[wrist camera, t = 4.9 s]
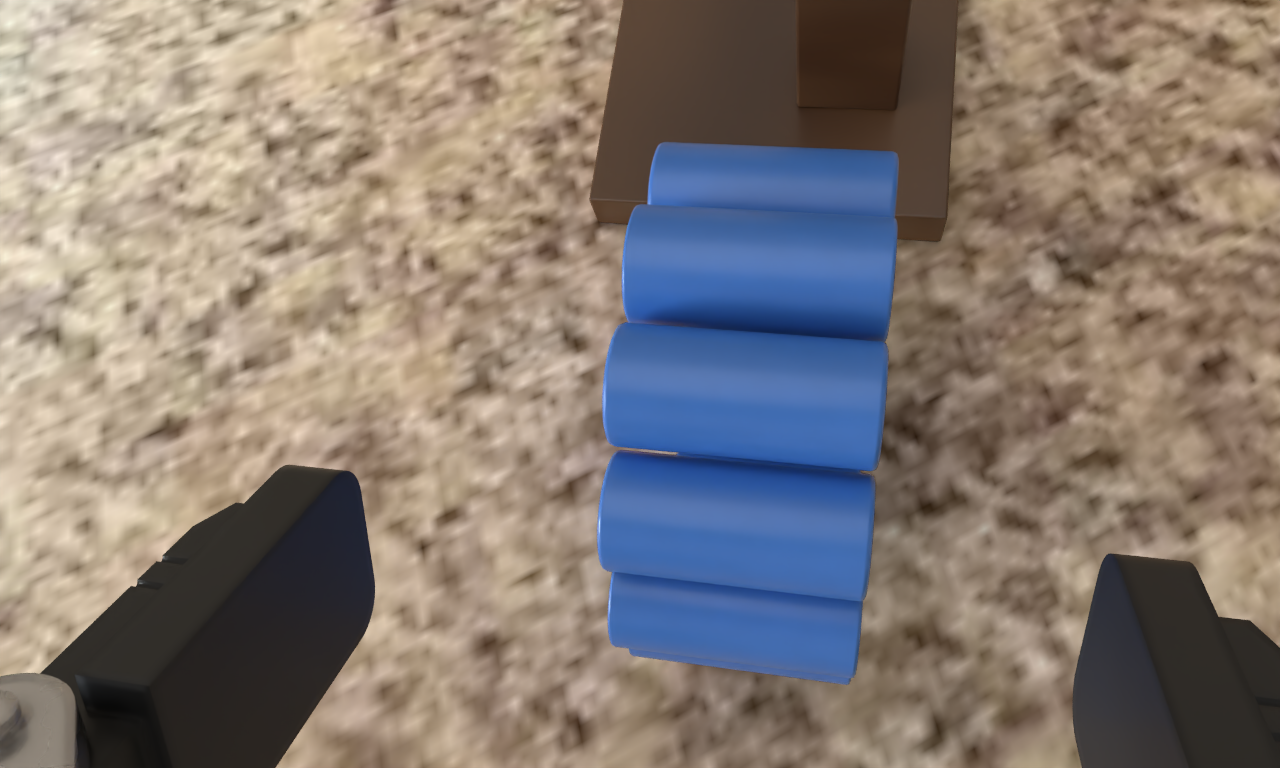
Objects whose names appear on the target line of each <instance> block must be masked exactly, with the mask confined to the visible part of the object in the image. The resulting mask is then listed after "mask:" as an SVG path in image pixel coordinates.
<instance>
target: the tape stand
mask: <svg viewBox="0 0 1280 768" xmlns="http://www.w3.org/2000/svg"><path fill="white" fill-rule="evenodd" d="M958 3H959V0H624V1H623V6H622V12H621V18H620V24H619V30H618V36H617V41H616V47H615V53H614V59H613V65H612V70H611V76H610V82H609V88H608V94H607V100H606V105H605V111H604V117H603V123H602V129H601V134H600V140H599V146H598V152H597V158H596V163H595V169H594V175H593V181H592V187H591V193H590V198H589V199H590V202H591V205H592V207H593V210H594V212H595V215H596V217H597V220H598V222H606V223H624V224H628V222H629V219H630V216H631V214H632V211H633V209H634V208H635V206H637V205H639V204H647V203H648V186H649V177H650V171H651V165H652V161H653V157H654V154H655V151H656V149H657V147H658V145H659V144H661V143H663V142H679V143H704V144H728V145H753V146H777V147H801V148H826V149H850V150H875V151H893V152H895V153H897V155H898V158H899V171H898V187H897V200H896V211H895V218H896V220H897V225H898V232H897V239H909V240H927V241H940V240H941V238H942V234H943V231H944V227H945V223H946V220H947V210H948V191H949V172H950V153H951V134H952V116H953V97H954V78H955V59H956V40H957V21H958Z"/></svg>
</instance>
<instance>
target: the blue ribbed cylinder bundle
mask: <svg viewBox="0 0 1280 768" xmlns="http://www.w3.org/2000/svg"><path fill="white" fill-rule="evenodd" d="M898 171H899V158H898V155H897V153H895V152H893V151H875V150H850V149H826V148H801V147H777V146H753V145H728V144H704V143H679V142H663V143H661V144H659V145H658V147H657V149H656V151H655V154H654V157H653V161H652V165H651V171H650V177H649V186H648V203H647V204H639V205H637V206H635V208H634V209H633V211H632V214H631V216H630V219H629V222H628V226H627V230H626V236H625V242H624V250H623V260H622V298H623V306H624V311H625V315H626V318H627V320H628V321H629V322H630V323H627V322H625V323H622V324H620V325H619V326H618V327H617V328H616V330H615V332H614V334H613V337H612V339H611V342H610V346H609V350H608V354H607V359H606V365H605V372H604V381H603V396H602V411H603V424H604V430H605V434H606V438H607V440H608V442H609V443H610V444H612V445H613V446H617V447H627V448H637V449H648V450H658V451H668V452H678V453H677V455H669V454H659V453H649V452H639V451H629V450H619V451H616V452H615V453H614V454H613V456H612V458H611V460H610V462H609V464H608V467H607V470H606V473H605V476H604V480H603V485H602V490H601V496H600V503H599V511H598V524H597V546H598V554H599V560H600V563H601V566H602V568H603V569H605V570H607V571H610V572H612V576H611V583H610V591H609V601H608V632H609V638H610V641H611V644H612V645H613V646H615V647H621V648H629V651H630V654H631V655H633V656H638V657H645V658H653V659H660V660H667V661H675V662H682V663H690V664H697V665H704V666H712V667H719V668H727V669H734V670H741V671H749V672H756V673H763V674H771V675H778V676H786V677H793V678H800V679H808V680H815V681H823V682H830V683H837V684H845V685H848V684H849V683H850V681H851V678H854V676H855V674H856V670H857V663H858V654H859V645H860V634H861V622H862V608H863V600H864V599H865V597H866V594H867V589H868V582H869V574H870V564H871V554H872V543H873V530H874V515H875V491H876V485H875V479H874V476H872V475H870V474H864V473H861V471H860V470H864V471H873V470H876V468H877V466H878V464H879V460H880V454H881V446H882V438H883V429H884V419H885V408H886V395H887V381H888V347H887V344H886V343H884V342H885V341H886V339H887V336H888V330H889V324H890V316H891V308H892V299H893V289H894V278H895V266H896V252H897V232H898V225H897V220H896V218H895V211H896V200H897V187H898Z"/></svg>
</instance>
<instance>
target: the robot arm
mask: <svg viewBox="0 0 1280 768" xmlns="http://www.w3.org/2000/svg"><path fill="white" fill-rule="evenodd" d="M137 581H138V583H137V586H136V587H133V586H131V587H130V588H129V589H127V590H126V591H125V592H124V593H123V594H122V595H121V596H120V597H119V598H118V599H117V600H116V601H115V602H114V603H113V604H112V605H111V606H110V607H109V608H108V609H107V610H106V611H105V612H104V613H103V614H102V615H101V616H99V617H98V618H97V619H96V620H95V621H94V622H93V623H92V624H91V625H90V626H89V627H88V628H87V629H86V630H85V631H84V632H83V633H82V634H81V635H80V636H79V637H78V638H77V639H76V640H75V641H74V642H72V643H71V644H70V645H69V646H68V647H67V648H66V649H65V650H64V651H63V652H62V653H61V654H60V655H59V656H58V657H57V658H56V659H55V660H54V661H53V662H52V663H51V664H50V665H49V666H48V667H47V668H46V669H44V670H43V671H42V672H41V673H40V674H36V673H20V674H12V675H5V676H1V677H0V768H275V767H276V766H277V764H278V763H279V761H280V760H281V759H282V757H283V756H284V754H285V753H286V751H287V750H288V748H289V747H290V745H291V744H292V742H293V741H294V739H295V738H296V736H297V735H298V733H299V732H300V730H301V729H302V727H303V726H304V724H305V723H306V721H307V720H308V718H309V717H310V715H311V714H312V712H313V711H314V709H315V708H316V706H317V705H318V703H319V702H320V700H321V699H322V697H323V696H324V694H325V693H326V691H327V690H328V688H329V687H330V685H331V684H332V682H333V681H334V679H335V678H336V676H337V675H338V673H339V672H340V670H341V669H342V667H343V666H344V664H345V663H346V661H347V660H348V658H349V657H350V655H351V654H352V652H353V651H354V649H355V648H356V646H357V645H358V643H359V642H360V640H361V639H362V637H363V635H364V634H365V631H366V629H367V627H368V624H369V622H370V618H371V615H372V611H373V606H374V599H375V580H374V573H373V567H372V560H371V554H370V547H369V541H368V534H367V527H366V521H365V514H364V508H363V501H362V495H361V489H360V485H359V482H358V480H357V478H356V476H355V475H354V474H353V473H351V472H350V471H343V470H333V469H324V468H314V467H305V466H295V465H285V466H283V467H281V468H280V469H278V470H277V471H276V472H275V473H274V474H273V475H272V476H271V477H270V478H269V479H268V480H267V481H266V482H265V483H264V484H263V485H262V486H261V487H260V488H259V489H258V490H257V491H256V492H255V493H254V494H253V495H252V496H251V497H250V498H249V499H248V500H247V501H246V502H245V503H244V504H243V503H235V504H233V505H231V506H229V507H227V508H225V509H224V510H222V511H220V512H218V513H216V514H215V515H213V516H211V517H209V518H207V519H205V520H204V521H202V522H200V523H198V524H196V525H195V526H193V527H192V528H191V529H190V530H189V531H188V532H187V533H186V534H185V535H184V536H182V537H181V538H180V539H179V540H178V541H177V542H176V543H175V544H174V545H173V546H172V547H171V548H170V549H169V550H168V551H167V552H166V553H165V554H164V555H163V559H162V562H156V563H154V564H153V565H152V566H151V567H150V568H149V569H148V570H147V571H146V572H145V573H144V574H143V575H142V576H141V577H140V578H139V579H138V580H137ZM1073 725H1074V733H1075V738H1076V743H1077V747H1078V752H1079V756H1080V761H1081V765H1082V768H1280V648H1279V647H1278V646H1277V645H1276V644H1275V643H1274V642H1273V641H1272V640H1271V639H1270V638H1268V637H1267V636H1266V635H1265V634H1264V633H1263V632H1262V631H1261V630H1260V629H1259V628H1258V627H1256V626H1255V625H1254V624H1253V623H1252V622H1251V621H1250V620H1241V619H1232V618H1223V617H1218V615H1217V613H1216V611H1215V608H1214V606H1213V604H1212V602H1211V600H1210V597H1209V595H1208V593H1207V591H1206V589H1205V586H1204V584H1203V582H1202V580H1201V578H1200V575H1199V573H1198V571H1197V569H1196V567H1195V566H1194V565H1193V564H1192V563H1190V562H1187V561H1177V560H1168V559H1158V558H1149V557H1139V556H1130V555H1120V554H1108V555H1106V557H1105V558H1104V560H1103V562H1102V564H1101V567H1100V570H1099V574H1098V578H1097V582H1096V586H1095V591H1094V595H1093V599H1092V603H1091V608H1090V612H1089V616H1088V621H1087V625H1086V629H1085V634H1084V638H1083V642H1082V646H1081V651H1080V655H1079V659H1078V664H1077V668H1076V673H1075V679H1074V687H1073Z"/></svg>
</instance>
